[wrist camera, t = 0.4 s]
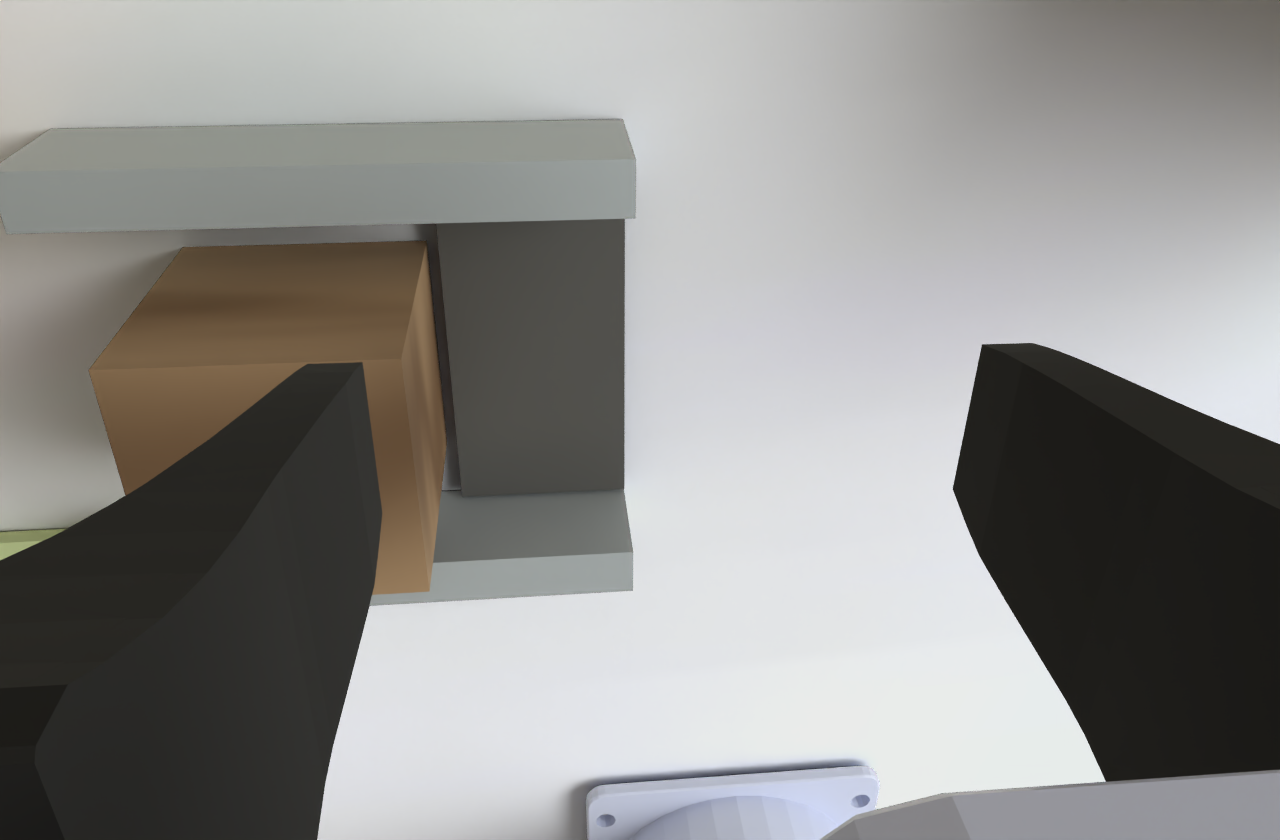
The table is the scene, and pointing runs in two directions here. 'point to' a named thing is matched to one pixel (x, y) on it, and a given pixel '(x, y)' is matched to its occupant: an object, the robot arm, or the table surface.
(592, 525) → the goalpost shaped bracket
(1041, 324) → the table surface
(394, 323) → the block
